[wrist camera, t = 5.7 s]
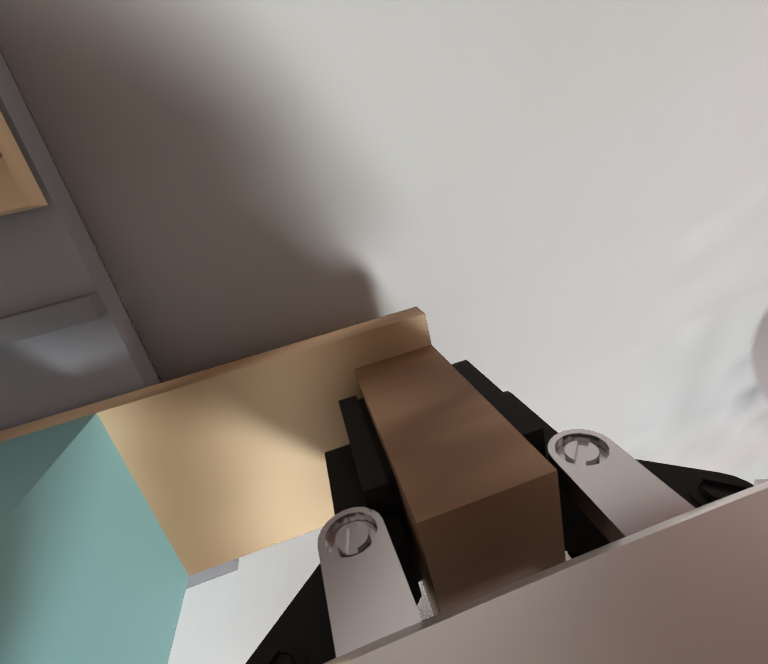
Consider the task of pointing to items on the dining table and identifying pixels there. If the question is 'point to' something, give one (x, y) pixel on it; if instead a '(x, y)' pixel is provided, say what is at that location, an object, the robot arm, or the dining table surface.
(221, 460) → the strip cube lane
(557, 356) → the dining table surface
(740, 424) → the dining table surface
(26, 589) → the cube
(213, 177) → the dining table surface
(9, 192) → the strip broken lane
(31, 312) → the lane board
